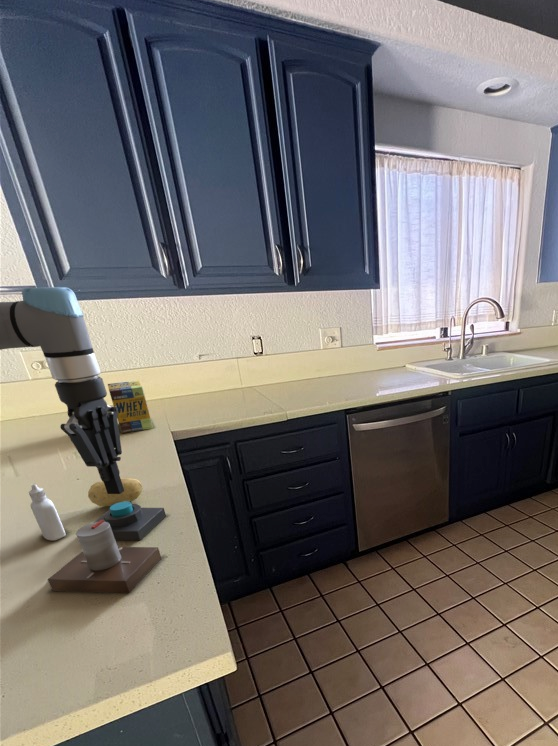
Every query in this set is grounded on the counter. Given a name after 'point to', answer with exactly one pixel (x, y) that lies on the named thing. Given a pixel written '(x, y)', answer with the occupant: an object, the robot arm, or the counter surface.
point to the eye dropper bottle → (46, 514)
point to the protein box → (130, 406)
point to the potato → (103, 499)
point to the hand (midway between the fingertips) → (116, 492)
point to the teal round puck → (121, 509)
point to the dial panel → (106, 572)
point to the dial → (98, 545)
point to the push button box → (134, 522)
